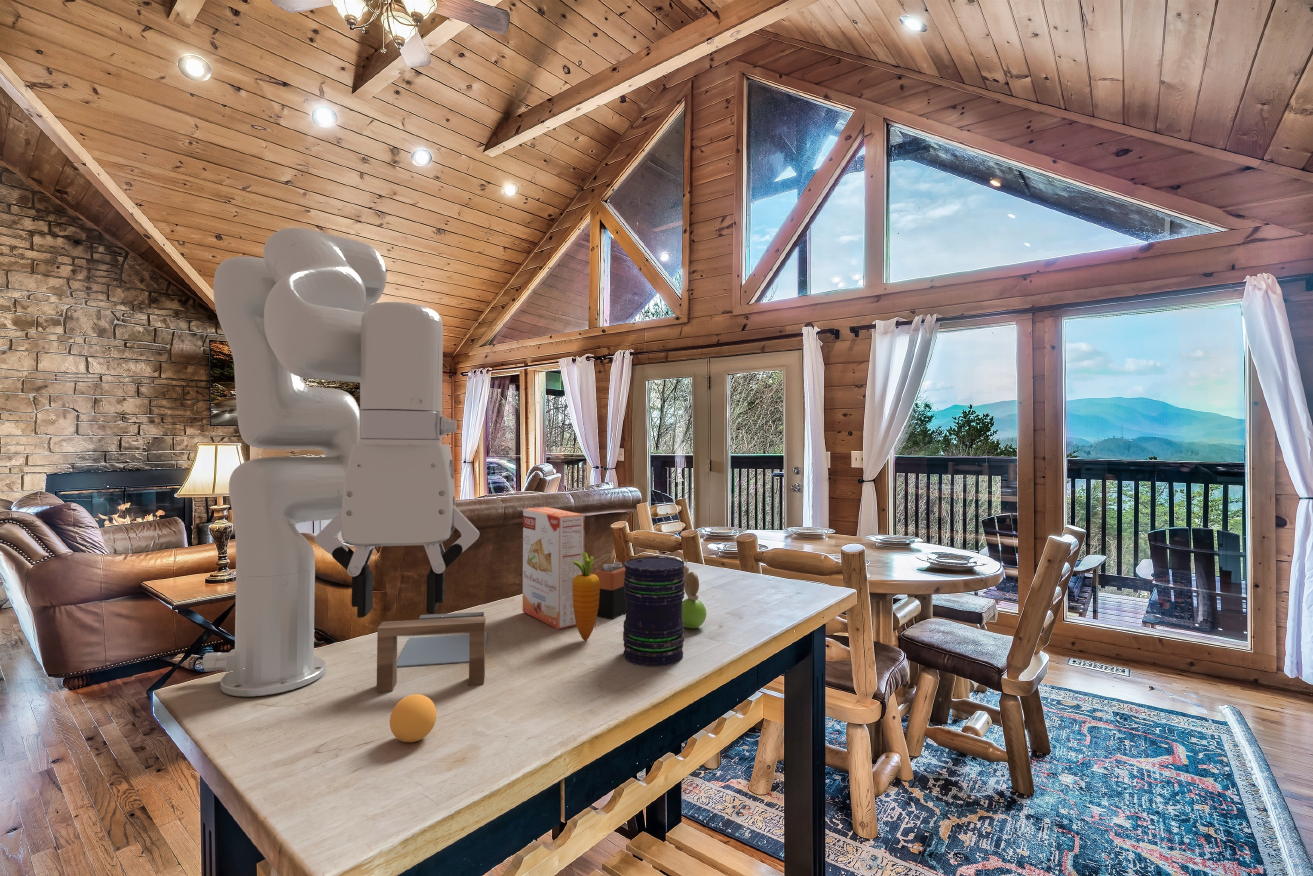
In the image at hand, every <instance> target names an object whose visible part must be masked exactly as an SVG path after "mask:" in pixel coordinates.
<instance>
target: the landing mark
mask: <svg viewBox="0 0 1313 876" xmlns="http://www.w3.org/2000/svg"><path fill="white" fill-rule="evenodd" d="M488 636H489V633H486V632H485V650H486V648H487V643H488V638H489V637H488ZM469 638H470V633H469V634H456V635H455V634H454V635H441V636H440V635H438V636H437V635H436V636H421V637H419V636H418V637H409V638H408V640H407V641H406V643H405V645H404V647H403V648H402V651H401V652H400V655H399V656H398V657H397V668H404V667H419V666H433V665H434V666H435V665H449V664H462V663H463V664H465V663H469Z"/></svg>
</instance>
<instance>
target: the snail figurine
mask: <svg viewBox="0 0 1313 876" xmlns="http://www.w3.org/2000/svg"><path fill="white" fill-rule="evenodd" d="M681 561H683V562H684V563H685V565H684V570H683V571H684V579H685V587H684V592H685V595H686V597H687V598H685V599H683V600H682V621H683V622H684V628H687V629H697V628H699V627H701V626H702V625H703V624H704V623H705V621H706V618H707V609H706V607H705V604H704V603H703V602H702V601H701V600H699V595H697V594H698V593H699V589H700V579H699V577H698V575H697V573H696V572H694V571H690V568H689V566H688V565H687V563H688V562H689V561H688V559H681Z"/></svg>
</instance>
